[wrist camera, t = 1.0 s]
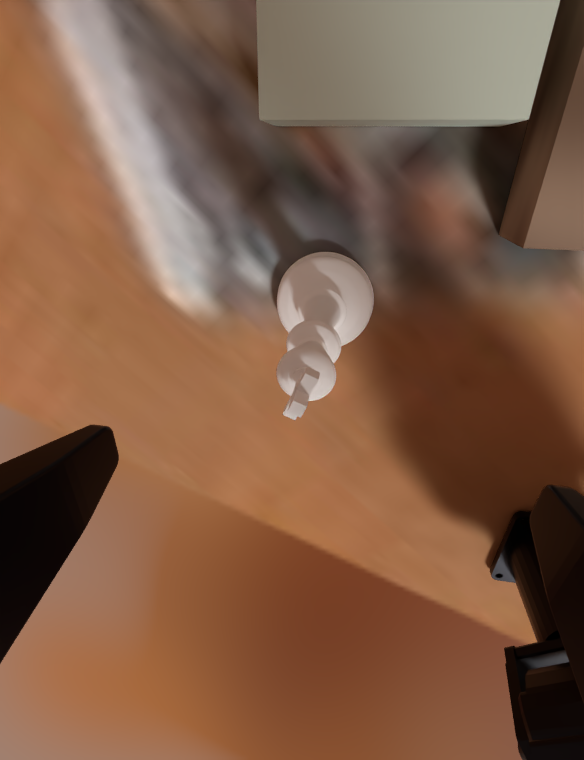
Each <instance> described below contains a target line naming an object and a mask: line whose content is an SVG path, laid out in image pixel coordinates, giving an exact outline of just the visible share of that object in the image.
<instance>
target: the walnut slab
mask: <svg viewBox="0 0 584 760" xmlns="http://www.w3.org/2000/svg"><path fill="white" fill-rule="evenodd" d="M499 235H500V236H502V237H503V238H505V239H507V240H509V241H511V242H513V243H515V244H516V245H518V246H520V247H522V248H533V249H558V250H583V251H584V0H561V1H560V5H559V8H558V12H557V16H556V20H555V23H554V27H553V31H552V35H551V39H550V42H549V46H548V50H547V54H546V57H545V61H544V65H543V69H542V73H541V76H540V80H539V84H538V88H537V91H536V95H535V99H534V103H533V107H532V110H531V114H530V118H529V122H528V125H527V129H526V133H525V137H524V141H523V144H522V148H521V152H520V156H519V159H518V163H517V167H516V171H515V175H514V178H513V182H512V186H511V190H510V193H509V197H508V201H507V205H506V209H505V212H504V216H503V220H502V224H501V227H500V231H499Z"/></svg>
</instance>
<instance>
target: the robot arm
mask: <svg viewBox="0 0 584 760" xmlns="http://www.w3.org/2000/svg"><path fill="white" fill-rule="evenodd" d="M118 460H119V455H118V450H117V446H116V442H115V438H114V434H113V431H112V429H111V428H110V427H108V426H101V425H89V426H87V427H84V428H82V429H80V430H77V431H75V432H73V433H71V434H68V435H66V436H64V437H61V438H59V439H57V440H55V441H52V442H50V443H48V444H45V445H43V446H41V447H39V448H36V449H34V450H32V451H29V452H27V453H25V454H23V455H20V456H18V457H16V458H13V459H11V460H9V461H7V462H4V463H2V464H0V663H1V662H2V660H3V658H4V657H5V655H6V654H7V652H8V650H9V649H10V647H11V646H12V644H13V643H14V641H15V639H16V638H17V636H18V635H19V633H20V631H21V630H22V628H23V627H24V625H25V624H26V622H27V620H28V619H29V617H30V615H31V614H32V612H33V611H34V609H35V608H36V606H37V605H38V603H39V601H40V600H41V598H42V597H43V595H44V593H45V592H46V590H47V589H48V587H49V586H50V584H51V582H52V581H53V579H54V578H55V576H56V574H57V573H58V571H59V570H60V568H61V567H62V565H63V563H64V562H65V560H66V558H67V557H68V555H69V554H70V552H71V551H72V549H73V547H74V546H75V544H76V543H77V541H78V539H79V538H80V536H81V535H82V533H83V531H84V530H85V528H86V526H87V524H88V522H89V521H90V519H91V517H92V515H93V513H94V511H95V509H96V507H97V505H98V503H99V501H100V499H101V497H102V495H103V493H104V491H105V489H106V487H107V485H108V483H109V481H110V479H111V477H112V475H113V473H114V471H115V469H116V467H117V464H118ZM522 519H523V520H522ZM490 573H491V576H492V578H493V579H495V580H500V581H507V582H514V583H516V585H517V587H518V590H519V593H520V596H521V598H522V601H523V604H524V607H525V609H526V612H527V615H528V617H529V620H530V623H531V626H532V628H533V631H534V634H535V637H536V639H537V643H532V644H528V645H523V646H519V647H515V646H510V647H506V648H504V650H505V657H506V672H507V679H508V686H509V692H510V699H511V705H512V712H513V719H514V725H515V733H516V737H517V741H518V750H519V753H520V755H521V758H522V759H523V760H584V496H582V495H581V494H580V493H578V492H577V491H575V490H574V489H572V488H570V487H564V486H557V485H547V486H546V487H544V488H543V490H542V492H541V494H540V496H539V498H538V500H537V502H536V504H535V506H534V508H533V510H532V512H525V511H520V512H517V513H515V514H514V515H513V517H512V520H511V522H510V524H509V527H508V529H507V531H506V534H505V536H504V538H503V541H502V543H501V545H500V547H499V550H498V552H497V554H496V557H495V559H494V561H493V564H492V566H491V568H490Z"/></svg>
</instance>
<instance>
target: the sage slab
mask: <svg viewBox="0 0 584 760" xmlns="http://www.w3.org/2000/svg"><path fill="white" fill-rule="evenodd" d="M559 3H560V0H256V16H257V54H258V93H259V120H261V121H264V122H266V123H269V124H271V125H274V126H455V127H500V126H504V125H508V124H513V123H517V122H521V121H525V120H529V116H530V113H531V109H532V105H533V101H534V97H535V94H536V90H537V86H538V82H539V79H540V75H541V71H542V67H543V63H544V60H545V56H546V52H547V48H548V45H549V41H550V37H551V33H552V29H553V26H554V22H555V18H556V14H557V10H558V7H559Z"/></svg>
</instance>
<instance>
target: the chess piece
mask: <svg viewBox="0 0 584 760" xmlns="http://www.w3.org/2000/svg"><path fill="white" fill-rule="evenodd" d="M373 305H374V293H373V288H372V284H371V282H370V279H369V277H368V276H367V274H366V272H365V271H364V270H363V269H362V268H361V267H360V265H358V264H357V263H356V262H355V261H353V260H352V259H350V258H348V257H346V256H344V255H341V254H338V253H334V252H317V253H313V254H309V255H307V256H304V257H302V258H301V259H299V260H297V261H296V262H295V263H294V264H292V265H291V266H290V267H289V269H288V270H287V271H286V272H285V274H284V276H283V277H282V279H281V282H280V285H279V288H278V294H277V309H278V314H279V317H280V320H281V322H282V324H283V326H284V327H285V329H286V330H287V331H288V332H289V335H288V337H287V342H286V346H287V351H288V352H287V353H286V354H285V355H284V356H283V357H282V358H281V360H280V361H279V363H278V366H277V379H278V382H279V384H280V386H281V388H282V389H283V390H284V391H285V392H286V393H287V394H288V395H290V396H291V397H290V399H289V401H288V402H287V404H286V406H285V409H284V412H283V415H285V416H287V417H289V418H291V419H293V420H296V418H297V416H298V417H300V418H301V416H302V415H303V413H304V411H305V409H306V408H307V405H308V401H314V400H318V399H320V398H323V397H324V396H326V395H327V394H328V393H329V392H330V391H331V390H332V388H333V387H334V384H335V381H336V370H335V366H334V364H333V363H334V362H335V361H336V360H337V359H338V357H339V355H340V352H341V346H343V345H345V344H347V343H349V342H351V341H352V340H354V339H355V338H356V337H357V336H359V335H360V334H361V332H362V331H363V330H364V329H365V327H366V325H367V324H368V322H369V319H370V316H371V314H372V310H373Z"/></svg>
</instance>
